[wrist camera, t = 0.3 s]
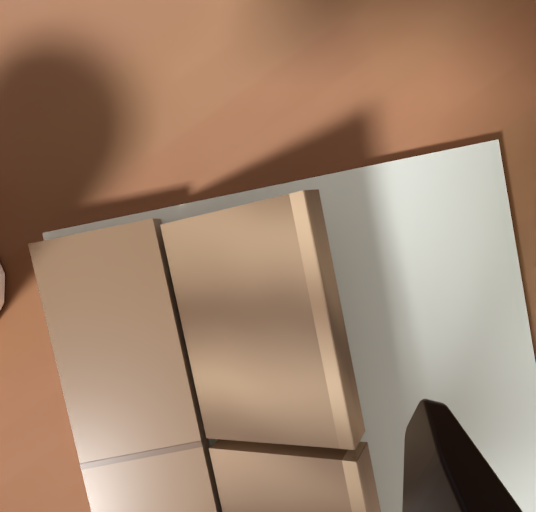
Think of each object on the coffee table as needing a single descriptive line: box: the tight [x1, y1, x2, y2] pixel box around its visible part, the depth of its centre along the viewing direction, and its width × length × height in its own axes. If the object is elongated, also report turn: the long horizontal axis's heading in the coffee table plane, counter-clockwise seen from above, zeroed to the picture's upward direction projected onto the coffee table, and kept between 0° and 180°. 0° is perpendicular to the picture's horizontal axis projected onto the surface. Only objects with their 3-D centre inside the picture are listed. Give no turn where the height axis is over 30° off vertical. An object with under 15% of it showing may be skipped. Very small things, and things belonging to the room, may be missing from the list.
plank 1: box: [160, 189, 365, 450], centre depth 20 cm, size 10×8×2 cm
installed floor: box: [28, 139, 536, 512], centre depth 22 cm, size 23×23×2 cm
